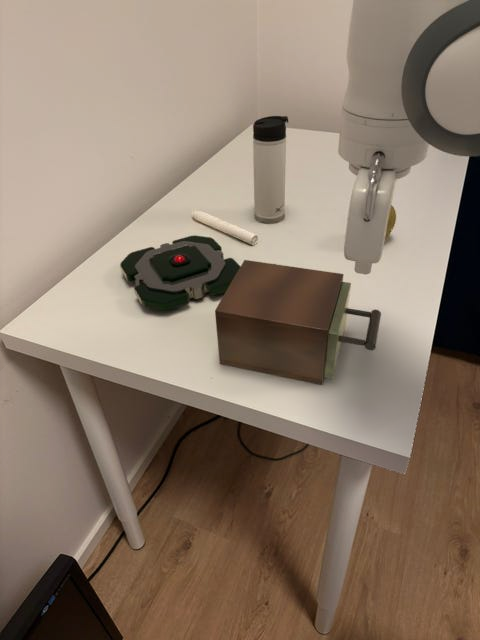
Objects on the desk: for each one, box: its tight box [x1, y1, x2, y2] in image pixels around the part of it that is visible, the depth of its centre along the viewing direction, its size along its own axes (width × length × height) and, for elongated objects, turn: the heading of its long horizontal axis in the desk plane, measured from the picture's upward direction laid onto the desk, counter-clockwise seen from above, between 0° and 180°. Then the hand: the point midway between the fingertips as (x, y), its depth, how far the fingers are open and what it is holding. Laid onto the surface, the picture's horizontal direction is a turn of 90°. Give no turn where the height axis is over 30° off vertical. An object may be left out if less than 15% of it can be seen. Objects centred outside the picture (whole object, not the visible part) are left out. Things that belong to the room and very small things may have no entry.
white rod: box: [191, 209, 259, 246], centre depth 97 cm, size 18×2×2 cm, turn 47°
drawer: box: [324, 281, 382, 379], centre depth 67 cm, size 18×11×8 cm, turn 72°
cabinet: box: [214, 259, 345, 385], centre depth 68 cm, size 15×13×10 cm
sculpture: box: [385, 204, 397, 240], centre depth 90 cm, size 8×4×8 cm, turn 128°
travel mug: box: [252, 115, 289, 224], centre depth 95 cm, size 6×7×20 cm
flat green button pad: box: [119, 234, 241, 311], centre depth 84 cm, size 18×18×5 cm
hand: (366, 254), depth 58 cm, fingers open, 6 cm apart
